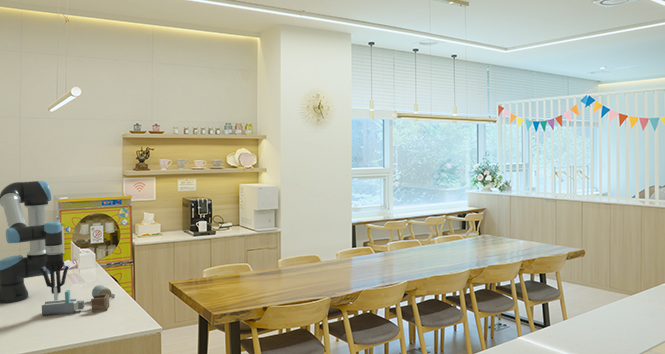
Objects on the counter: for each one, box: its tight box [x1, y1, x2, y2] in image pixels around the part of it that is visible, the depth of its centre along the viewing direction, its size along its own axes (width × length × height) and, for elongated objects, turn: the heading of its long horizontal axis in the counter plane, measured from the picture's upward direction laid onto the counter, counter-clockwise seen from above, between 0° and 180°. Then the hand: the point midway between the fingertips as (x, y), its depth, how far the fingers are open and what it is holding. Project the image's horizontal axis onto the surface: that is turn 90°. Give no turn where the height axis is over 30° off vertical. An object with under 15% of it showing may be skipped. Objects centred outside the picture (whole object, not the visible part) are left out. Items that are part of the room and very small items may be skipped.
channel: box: [41, 298, 77, 317], centre depth 245 cm, size 6×14×6 cm, turn 106°
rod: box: [43, 289, 85, 311], centre depth 245 cm, size 4×18×10 cm, turn 106°
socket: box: [90, 294, 110, 313], centre depth 250 cm, size 8×7×6 cm
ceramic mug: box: [91, 284, 116, 299], centre depth 266 cm, size 11×8×8 cm
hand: (56, 299), depth 244 cm, fingers closed
